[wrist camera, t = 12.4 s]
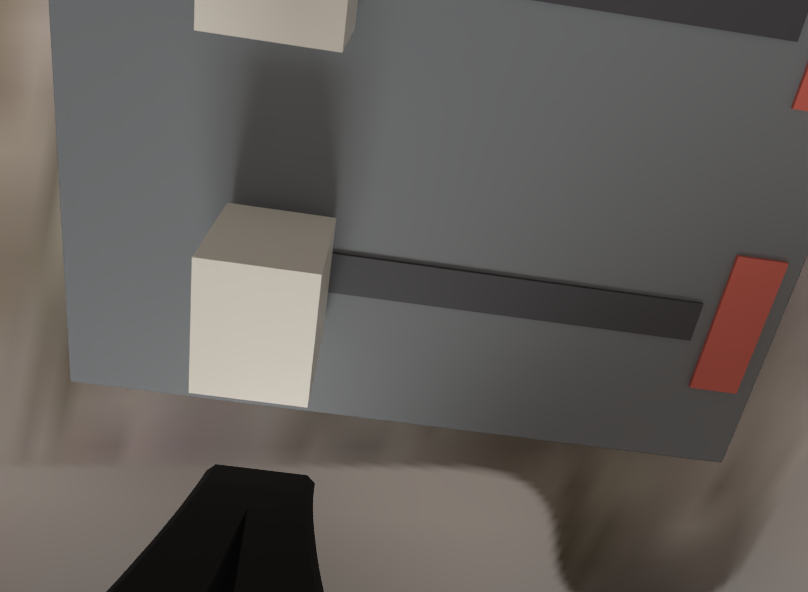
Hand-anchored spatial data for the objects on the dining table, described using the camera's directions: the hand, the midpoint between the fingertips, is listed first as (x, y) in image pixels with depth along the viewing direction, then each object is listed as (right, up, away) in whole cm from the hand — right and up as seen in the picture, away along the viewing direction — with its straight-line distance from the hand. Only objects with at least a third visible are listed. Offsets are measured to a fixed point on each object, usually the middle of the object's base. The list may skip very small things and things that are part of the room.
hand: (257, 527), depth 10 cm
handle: (-1, +4, +7) cm, 8 cm away
